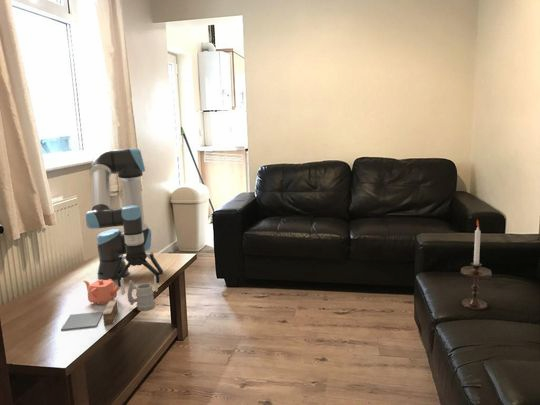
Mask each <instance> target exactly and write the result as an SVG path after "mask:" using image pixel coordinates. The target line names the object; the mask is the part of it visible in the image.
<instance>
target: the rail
mask: <svg viewBox="0 0 540 405" xmlns="http://www.w3.org/2000/svg"><path fill="white" fill-rule="evenodd" d="M118 312H119V307H118V300H117V299H114V300H111V301H109V302H108V303H107V305H106V306H105V309H104V311H103V314H102V317H103V318H102V319H103V326H104V327H107V326H113V324H114V322H115V320H116V317H117V315H118Z"/></svg>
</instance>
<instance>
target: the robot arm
mask: <svg viewBox="0 0 540 405" xmlns="http://www.w3.org/2000/svg"><path fill="white" fill-rule="evenodd" d="M145 167H146V166H145V164H144V159H143V155H142V151H141V149H139V148H131V147H129V148H120V149H117V148H116V149H107V150H106V149H105V150H103V151H102V152H100V153H99V154H97V155H96V156H95V157H94V159H93V160H92V161H91V162H90V166H89V176H90V178H91V210H89V211H87V212H86V213H85V222H86V227H87V228H88V229H90V230H91V229H92V230H93V229H94V230H95V229H97V230H98V229H103V228H104V229H105V228H106V229H107V228H112V227H122V228H123V231H121V229H119V228H112V229H107V230H105V231H102V232H100V233H98V234H97V236H96V245H97V250H98V258H99V265H98V269H97V273H96V274H97V279H98V280H109V279H112V281H113V280H116V281H117V286H119V287H120V289H121V296H124V295H125V293H126V290H125V283H124V277H126V276H127V275H129V273H130V272H129V268H130V267H131V266H132V267H136V266H144V267H145V268H147V269H148V270H149V271H150V272H151V273H152V274H153V275H154V276H153V282H154V290H155V292H158V289H159V288H158V284H160V281H161V280H160V275H163V273H164V269H162V267H161V266H160V263H158V261H157V259H156V258H155V256H154V252H150V253H146V252H147V251H150V250H151V247H152V229H151V228H149V225H148V224H147V223H145V214H144V209H143V208H144V206H143V197H142V186H141V178H142V176H143V173H144V172H146V168H145ZM115 174H117V177H118V178H119V180H121V183H122V184H121V185H122V192H123V194H122V195H123V203H124V206H123V207H119V208H118V207H117V208H111V196H110V194H111V193H110V191H111V189H110V177H111V176H112V175H115ZM147 258H148V259H149V260H150V261H151V263H152V264H153V265H154V266H152V265H151V263H149V262H148V261H147ZM126 261H127V263H126Z"/></svg>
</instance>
